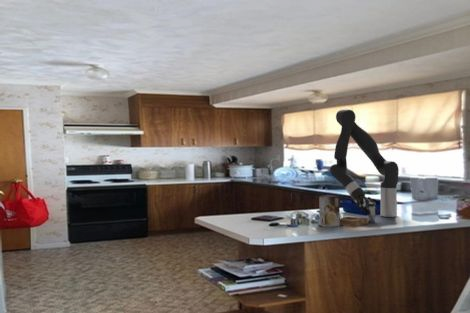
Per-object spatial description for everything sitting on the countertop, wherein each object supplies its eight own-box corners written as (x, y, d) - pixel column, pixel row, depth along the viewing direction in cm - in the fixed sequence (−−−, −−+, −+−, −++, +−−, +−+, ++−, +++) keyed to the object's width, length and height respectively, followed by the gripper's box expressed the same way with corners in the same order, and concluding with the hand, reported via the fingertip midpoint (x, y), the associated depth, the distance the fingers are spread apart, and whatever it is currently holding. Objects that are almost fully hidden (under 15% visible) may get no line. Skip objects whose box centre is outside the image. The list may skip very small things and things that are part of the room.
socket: (346, 220, 261) (346, 215, 261) (367, 223, 251) (367, 218, 251) (331, 223, 252) (331, 218, 252) (353, 226, 241) (353, 221, 241)
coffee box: (334, 224, 250) (334, 194, 249) (340, 226, 244) (340, 196, 243) (318, 225, 247) (318, 195, 247) (324, 227, 241) (324, 196, 241)
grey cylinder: (369, 221, 258) (369, 202, 258) (377, 222, 255) (377, 203, 255) (364, 222, 255) (364, 203, 255) (372, 223, 251) (372, 203, 251)
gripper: (352, 187, 255) (370, 210, 247) (366, 186, 265) (384, 207, 257) (344, 196, 259) (361, 219, 251) (358, 194, 269) (375, 216, 261)
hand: (373, 213), depth 254 cm, fingers open, 8 cm apart
